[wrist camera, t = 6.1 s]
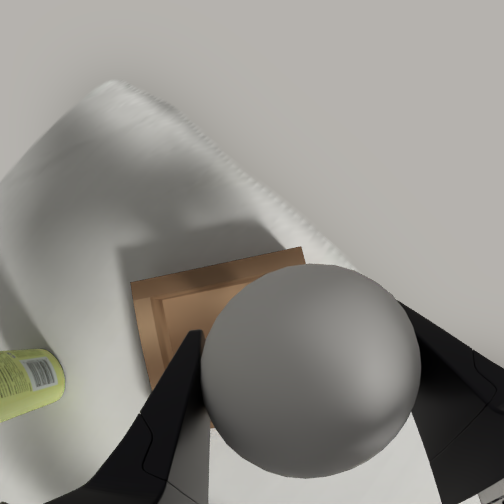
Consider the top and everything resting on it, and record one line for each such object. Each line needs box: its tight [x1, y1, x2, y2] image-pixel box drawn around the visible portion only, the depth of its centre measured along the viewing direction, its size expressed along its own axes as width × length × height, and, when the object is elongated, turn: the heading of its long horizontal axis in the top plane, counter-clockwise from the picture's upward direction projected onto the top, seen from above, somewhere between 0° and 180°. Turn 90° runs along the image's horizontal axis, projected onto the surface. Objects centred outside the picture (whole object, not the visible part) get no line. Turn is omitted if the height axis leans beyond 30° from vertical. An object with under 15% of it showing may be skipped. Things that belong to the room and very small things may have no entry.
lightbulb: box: [200, 264, 421, 479], centre depth 10 cm, size 6×6×11 cm
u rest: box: [130, 247, 306, 428], centre depth 20 cm, size 11×11×4 cm
